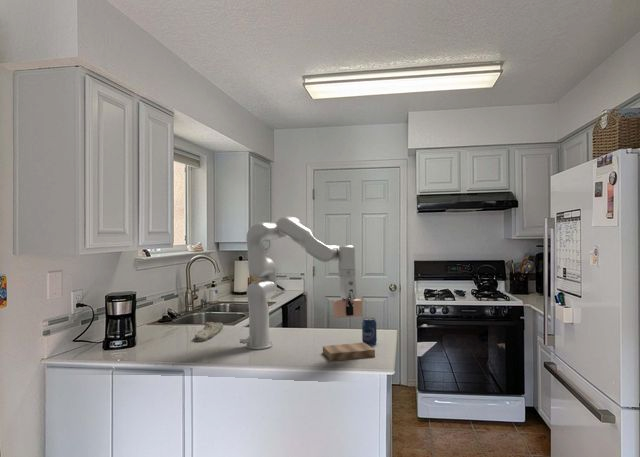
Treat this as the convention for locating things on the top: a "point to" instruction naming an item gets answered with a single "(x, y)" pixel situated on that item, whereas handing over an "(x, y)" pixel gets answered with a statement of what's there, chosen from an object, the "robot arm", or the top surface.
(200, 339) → the elongated rock
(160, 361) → the top surface
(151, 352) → the top surface
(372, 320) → the soda can
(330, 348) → the walnut stand
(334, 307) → the terracotta block
